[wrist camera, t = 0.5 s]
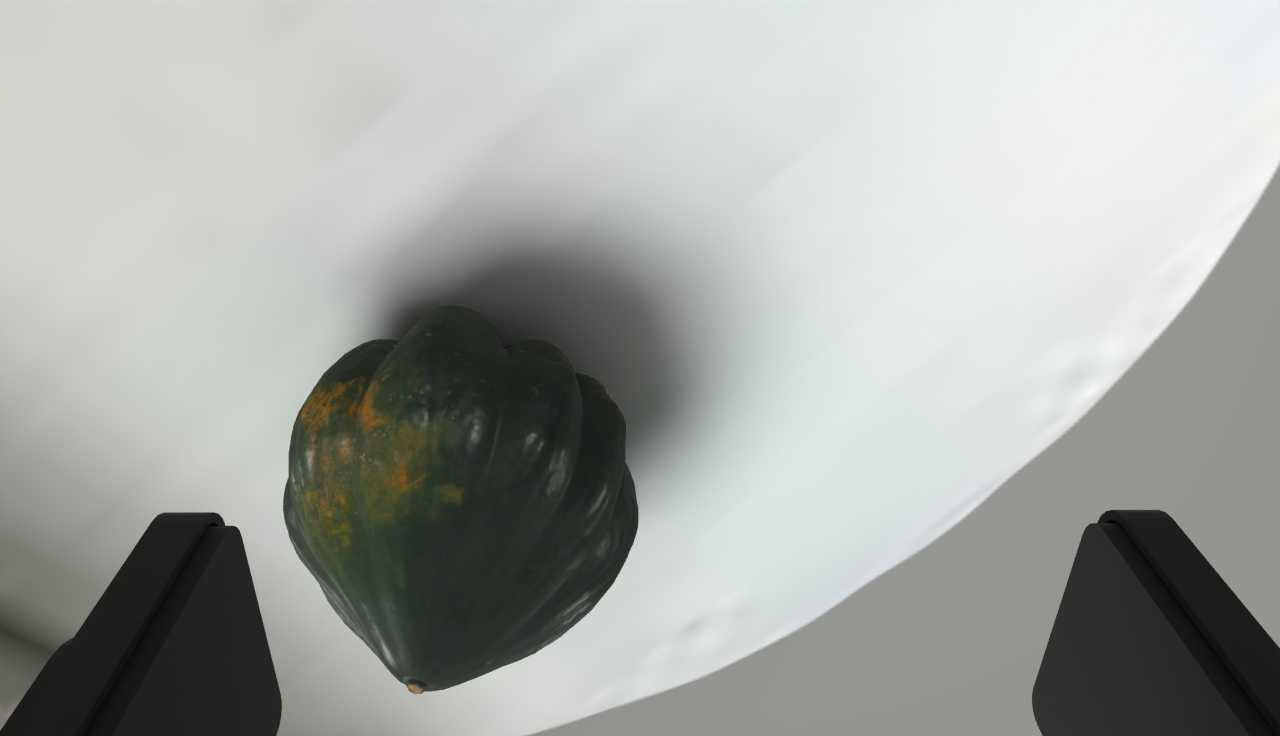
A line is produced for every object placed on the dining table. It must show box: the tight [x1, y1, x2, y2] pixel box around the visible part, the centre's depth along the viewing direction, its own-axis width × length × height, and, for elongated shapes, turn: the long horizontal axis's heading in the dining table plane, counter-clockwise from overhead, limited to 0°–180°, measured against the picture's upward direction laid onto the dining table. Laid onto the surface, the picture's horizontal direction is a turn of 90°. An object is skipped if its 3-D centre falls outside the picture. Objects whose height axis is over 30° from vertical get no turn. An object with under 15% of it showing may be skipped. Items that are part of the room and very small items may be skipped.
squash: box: [283, 306, 638, 694], centre depth 40 cm, size 14×15×15 cm
